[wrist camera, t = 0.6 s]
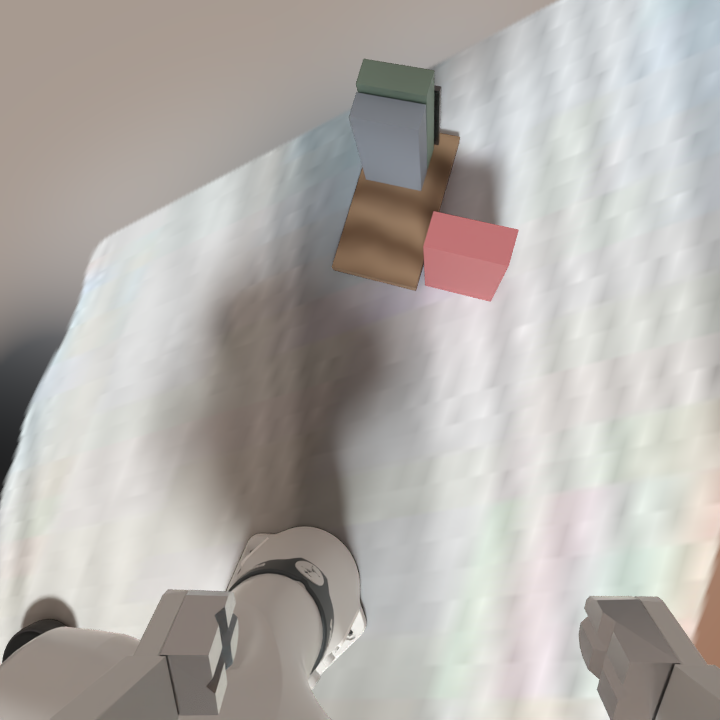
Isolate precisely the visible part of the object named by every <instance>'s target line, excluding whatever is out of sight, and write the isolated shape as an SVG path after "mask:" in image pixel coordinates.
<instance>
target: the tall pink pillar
mask: <svg viewBox="0 0 720 720" xmlns="http://www.w3.org/2000/svg"><path fill="white" fill-rule="evenodd" d="M517 234H518V229H513V228H508V227H504V226H499V225H495V224H490V223H486V222H481V221H476V220H472V219H467V218H463V217H458V216H454V215H449V214H444V213H440V212H435V211H434V212H433V215H432V219H431V222H430V225H429V229H428V232H427V236H426V239H425V242H424V246H423V250H424V270H425V285H426V286H430V287H434V288H438V289H442V290H446V291H450V292H454V293H458V294H462V295H466V296H470V297H474V298H478V299H482V300H486V301H490V302H491V300H492V298H493V296H494V294H495V292H496V290H497V288H498V286H499V284H500V282H501V280H502V278H503V276H504V274H505V272H506V270H507V268H508V266H509V263H510V259H511V256H512V252H513V248H514V245H515V241H516V238H517Z"/></svg>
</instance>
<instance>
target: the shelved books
mask: <svg viewBox="0 0 720 720" xmlns="http://www.w3.org/2000/svg"><path fill="white" fill-rule="evenodd" d="M356 87H357V91H358V92H357V93H356V95H355V99H354V102H353V105H352V108H351V111H350V115H349V120H350V123H351V127H352V130H353V134H354V138H355V141H356V145H357V149H358V152H359V156H360V160H361V163H362V167H363V170H364V174H365V178H366V179H367V180H371V181H376V182H381V183H385V184H390V185H395V186H400V187H404V188H409V189H414V190H418V191H421V190H422V187H423V183H424V180H425V177H426V173H427V169H428V167H429V163H430V160H431V157H432V153H433V150H434V70H429V69H423V68H417V67H411V66H405V65H398V64H392V63H386V62H380V61H374V60H368V59H364V60H363V63H362V66H361V69H360V72H359V76H358V79H357V81H356Z"/></svg>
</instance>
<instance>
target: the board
mask: <svg viewBox="0 0 720 720" xmlns="http://www.w3.org/2000/svg"><path fill="white" fill-rule="evenodd" d="M459 140H460V137H458V136H453V135H448V134H442V133H440V142H439V145H434V150H433V153H432V157H431V160H430V163H429V167H428V169H427V173H426V177H425V180H424V183H423V187H422V190H421V191H418V190H414V189H409V188H404V187H400V186H395V185H390V184H385V183H381V182H376V181H371V180H367V179H366V178H365V174H364V170H363V167H362V170H361V174H360V177H359V180H358V183H357V187H356V190H355V193H354V196H353V200H352V203H351V206H350V209H349V213H348V216H347V219H346V222H345V226H344V229H343V232H342V235H341V239H340V242H339V245H338V248H337V252H336V255H335V258H334V261H333V265H332V268H333V269H334V270H335V271H339V272H343V273H347V274H351V275H355V276H359V277H363V278H367V279H371V280H375V281H379V282H383V283H387V284H391V285H395V286H399V287H403V288H407V289H411V290H415V291H416V289H417V286H418V282H419V279H420V275H421V272H422V268H423V265H424V250H423V246H424V242H425V239H426V236H427V232H428V229H429V225H430V222H431V219H432V215H433V212H434V211H435V212H439V210H440V207H441V204H442V200H443V197H444V193H445V190H446V186H447V183H448V180H449V176H450V173H451V169H452V166H453V163H454V159H455V156H456V152H457V149H458V145H459Z"/></svg>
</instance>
